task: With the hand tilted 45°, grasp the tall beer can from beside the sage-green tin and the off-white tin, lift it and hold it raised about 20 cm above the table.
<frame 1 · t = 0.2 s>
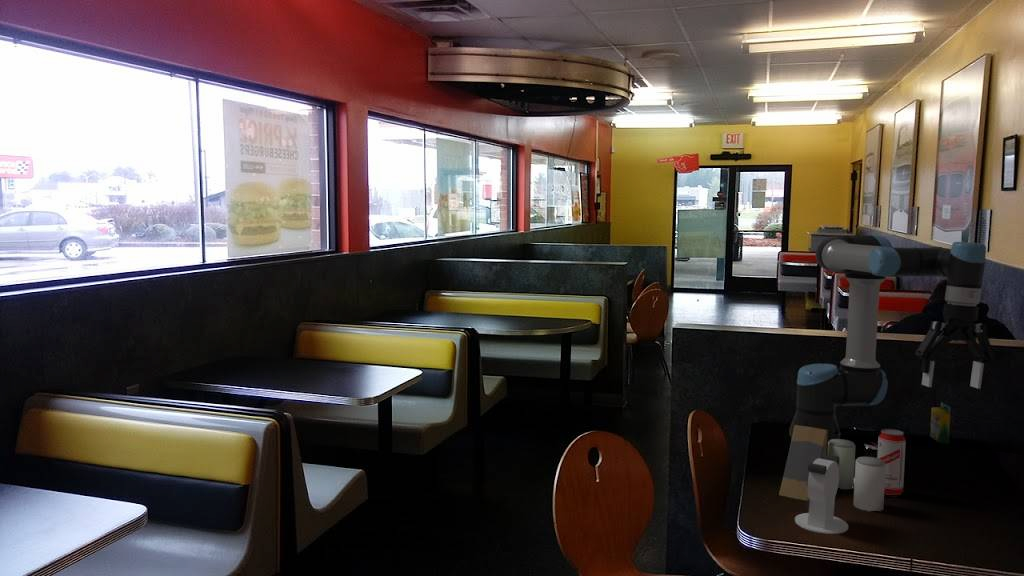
hand: (950, 386, 192), 28 cm above the table, tool pointing down, fingers open, 13 cm apart
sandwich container: (801, 490, 196), on the table
beer can: (888, 493, 194), on the table
sage tin: (839, 484, 200), on the table
white post on disc: (821, 524, 174), on the table
off-white tin: (868, 506, 185), on the table
crayon box: (939, 440, 241), on the table
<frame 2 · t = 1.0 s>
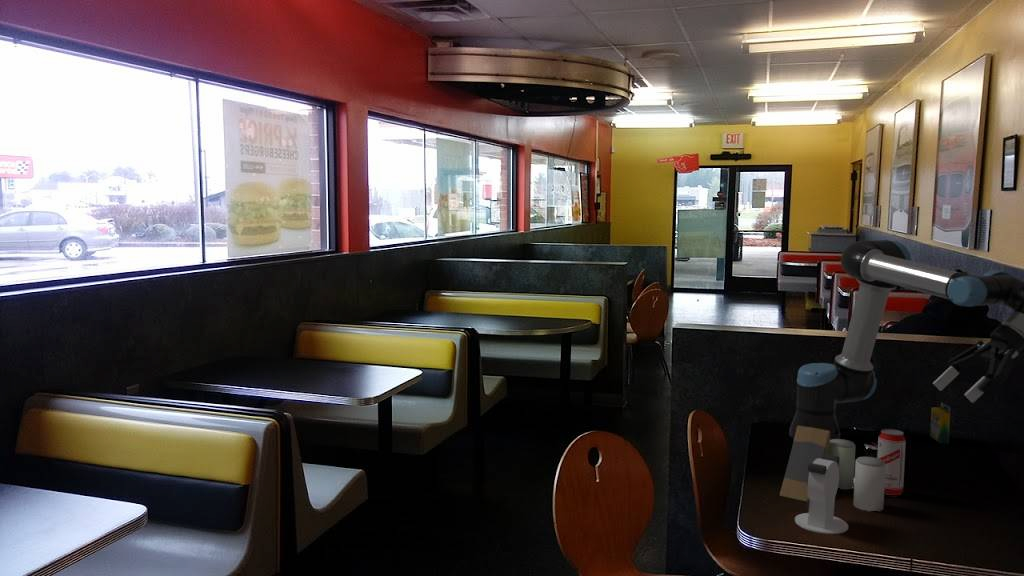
hand: (951, 392, 192), 26 cm above the table, tool tilted 45°, fingers open, 13 cm apart
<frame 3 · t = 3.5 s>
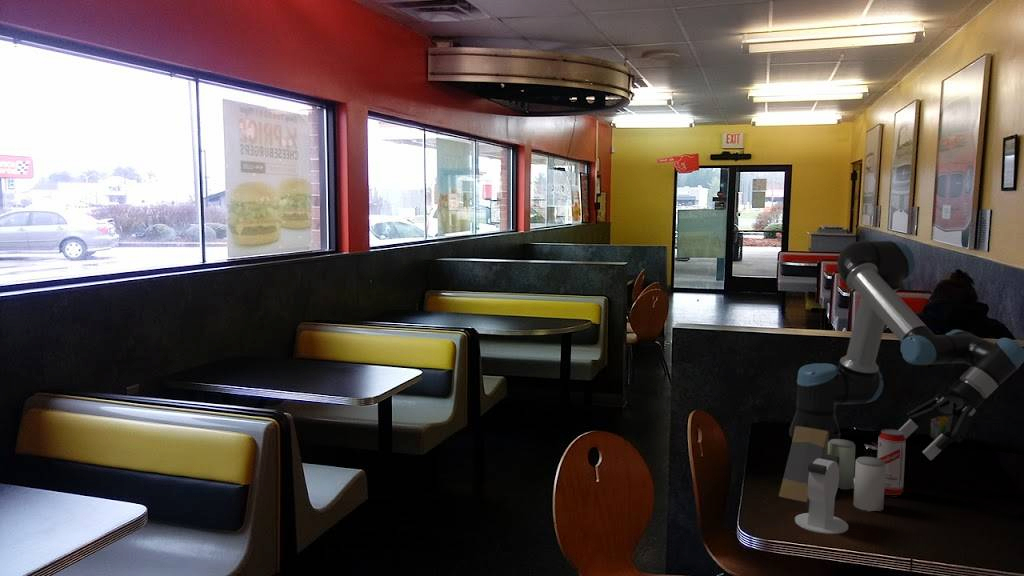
hand: (910, 448, 192), 12 cm above the table, tool tilted 45°, fingers open, 13 cm apart
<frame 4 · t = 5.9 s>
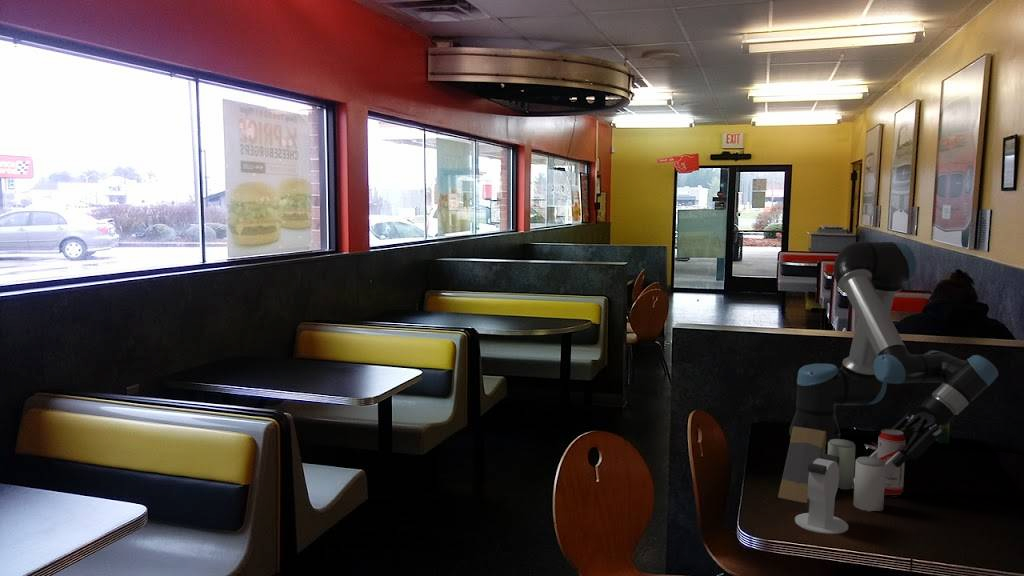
hand: (876, 468, 193), 6 cm above the table, tool tilted 45°, fingers closed on beer can, 6 cm apart
beer can: (888, 493, 194), on the table, touching gripper
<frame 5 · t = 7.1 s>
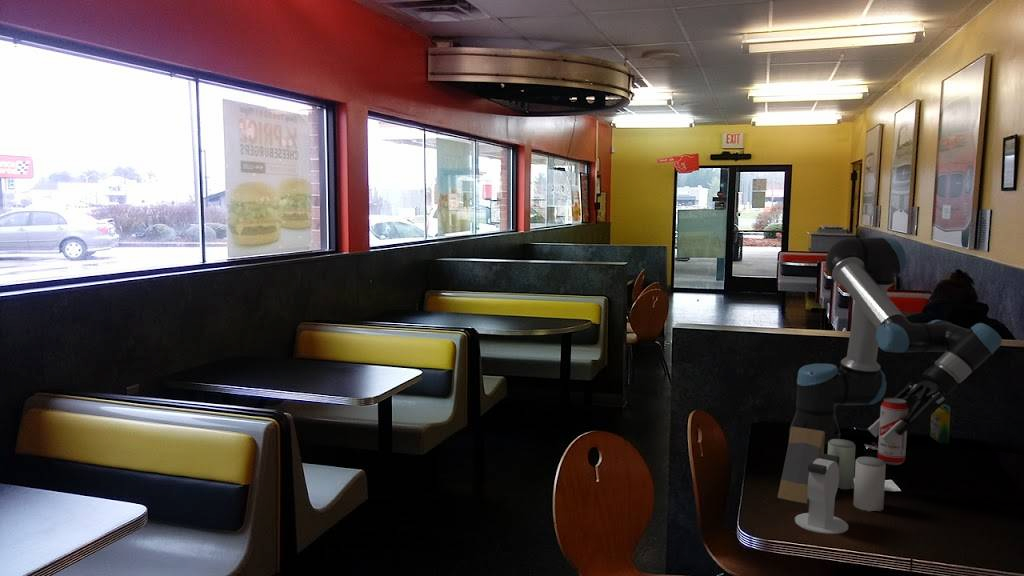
hand: (878, 437, 192), 15 cm above the table, tool tilted 45°, fingers closed on beer can, 6 cm apart
beer can: (890, 462, 193), point 8 cm above the table, touching gripper
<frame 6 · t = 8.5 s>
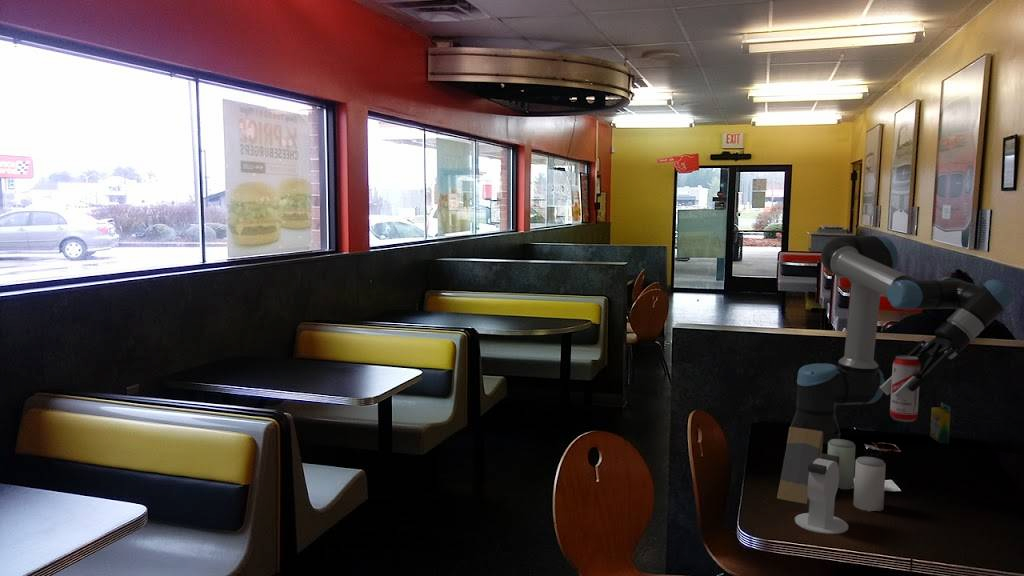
hand: (890, 394, 192), 26 cm above the table, tool tilted 45°, fingers closed on beer can, 6 cm apart
beer can: (903, 420, 192), point 19 cm above the table, touching gripper
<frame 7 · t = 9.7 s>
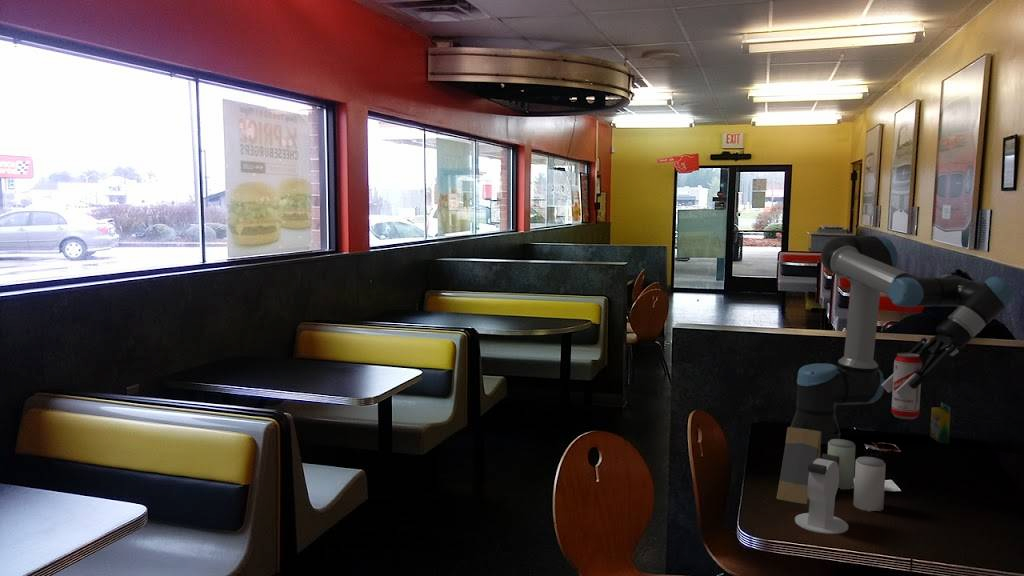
hand: (892, 391, 192), 26 cm above the table, tool tilted 45°, fingers closed on beer can, 6 cm apart
beer can: (904, 417, 192), point 20 cm above the table, touching gripper
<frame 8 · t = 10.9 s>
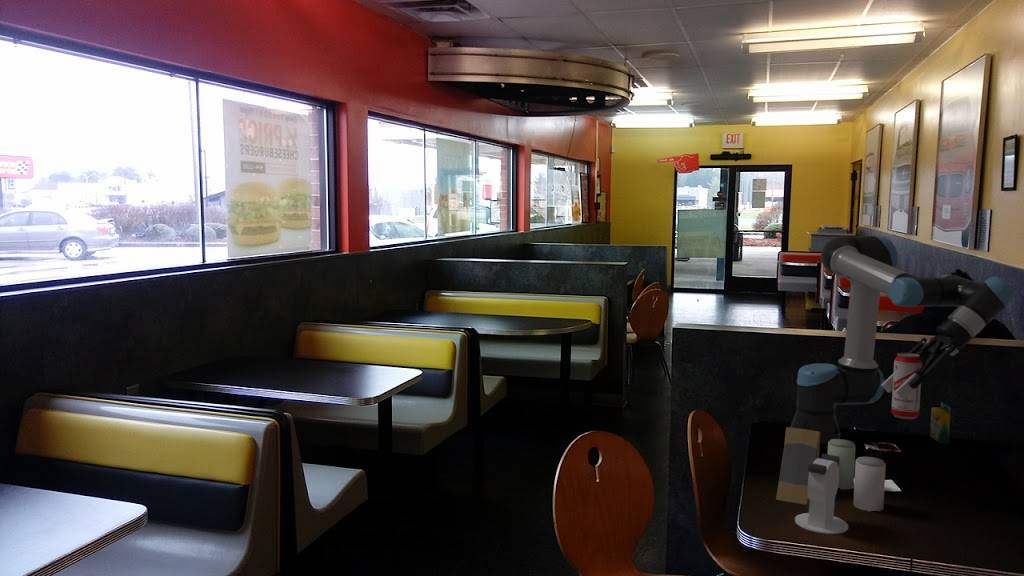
hand: (892, 391, 192), 26 cm above the table, tool tilted 45°, fingers closed on beer can, 6 cm apart
beer can: (904, 417, 192), point 20 cm above the table, touching gripper
at the end: the gripper is holding beer can; beer can point 19.7 cm above the table; off-white tin moved 0.0 cm from its start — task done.
